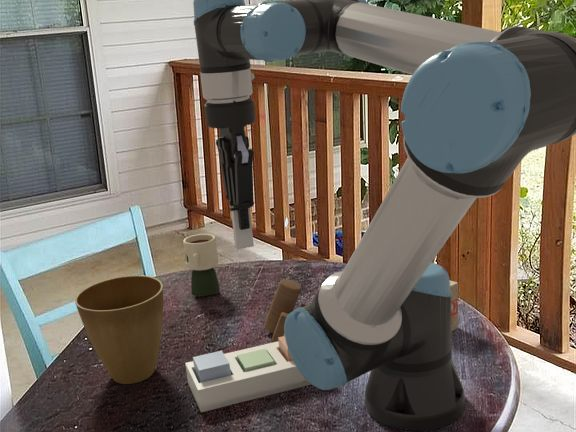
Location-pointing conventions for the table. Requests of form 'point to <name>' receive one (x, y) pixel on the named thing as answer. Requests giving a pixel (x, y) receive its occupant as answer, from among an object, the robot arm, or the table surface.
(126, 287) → the plant pot
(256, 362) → the sage key
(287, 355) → the terracotta key
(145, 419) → the table surface
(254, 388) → the key console
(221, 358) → the blue key
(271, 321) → the wooden block set
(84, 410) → the table surface
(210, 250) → the character mug
